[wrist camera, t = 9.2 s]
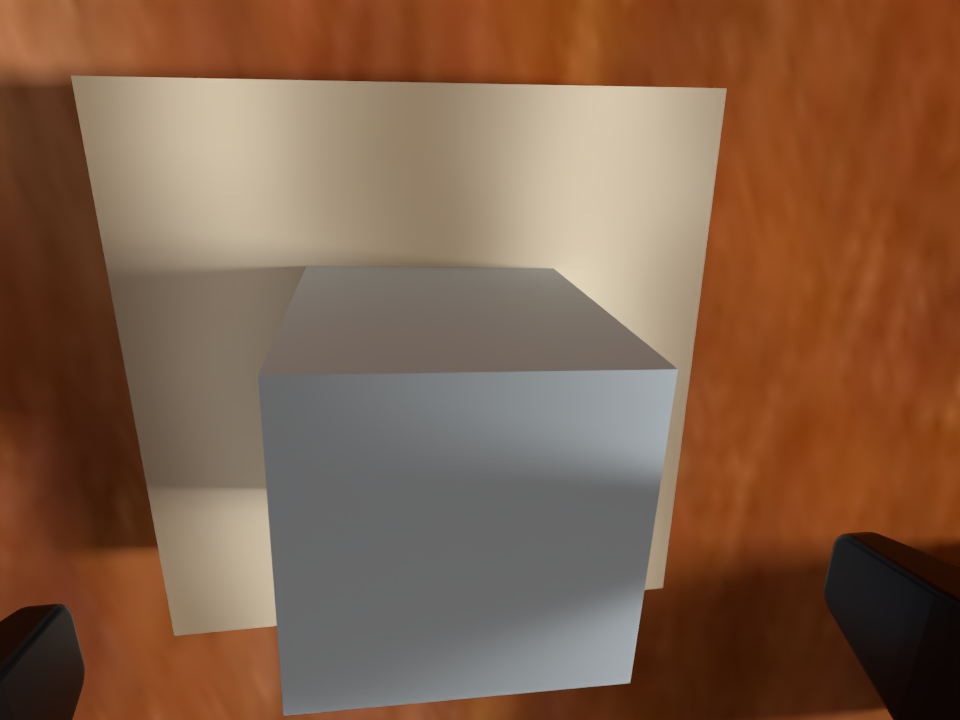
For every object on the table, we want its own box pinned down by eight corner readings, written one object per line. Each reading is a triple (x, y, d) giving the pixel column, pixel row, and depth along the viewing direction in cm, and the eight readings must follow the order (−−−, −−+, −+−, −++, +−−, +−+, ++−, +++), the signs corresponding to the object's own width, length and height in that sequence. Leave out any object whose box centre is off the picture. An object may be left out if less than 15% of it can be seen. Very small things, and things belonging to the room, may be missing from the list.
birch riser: (212, 535, 19) (174, 635, 15) (145, 86, 15) (70, 75, 11) (610, 504, 21) (662, 588, 17) (647, 95, 17) (726, 88, 13)
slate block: (317, 488, 15) (283, 715, 9) (306, 265, 13) (258, 376, 7) (536, 479, 15) (630, 682, 10) (553, 268, 14) (678, 369, 8)
